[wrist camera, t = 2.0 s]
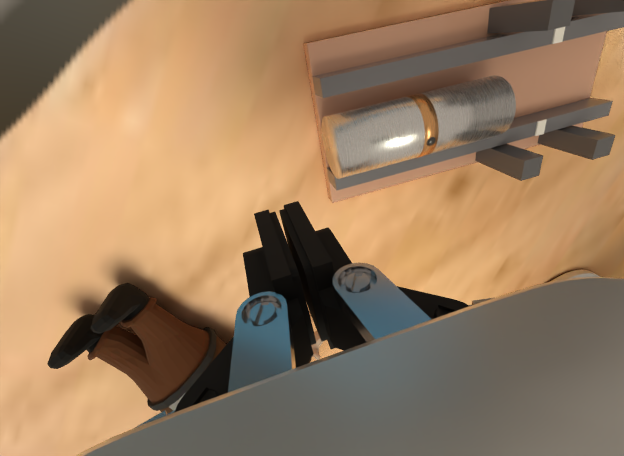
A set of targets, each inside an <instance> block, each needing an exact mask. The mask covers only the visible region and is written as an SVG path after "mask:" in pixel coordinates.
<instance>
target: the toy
mask: <svg viewBox="0 0 624 456" xmlns="http://www.w3.org/2000/svg"><path fill="white" fill-rule="evenodd" d="M156 302H157V298H153V297H150V298H148V296H147V294H146V293H144V292H143V291H141V290H140V289H138V288H137V287H135V286H133V285H131V284H129V283H124V284H121V285H119V286H117V287H116V288H114V289H113V290H112V291H111V292H110V293H109V294H108V296H107V297H106V299H105V300H104V302H103V304H102V305H101V307H100V308H99V310H98V312H97V313H96V315H91V314H87V315H85V316H82V317H80V318H79V319H77V320H76V321H75V322H74V323H73V324H72V325H71V326H70V328H69V329H68V330H67V331H66V333H65V334H64V335H63V337H62V338H61V340H60V341H59V342H58V344H57V345H56V347H55V348H54V350H53V351H52V353H51V356H50V358H49V361H48V365H49V367H50V368H54V369H58V368H61V367H63V366H65V365H67V364H68V363H70V362H71V361H72V360H74V359H75V358H76V357H78V356H79V355H80V354H81V353H83V352H84V351H85V350H87V351H88V352H89V354H88V359H89V360H92V359H94V358H95V357H98V358H100V359H102V360H103V361H105V362H107V363H108V364H110V365H112V366H113V367H115V368H117V369H119V370H120V371H122V372H124V373H125V374H127V375H128V376H129V377H130V378H131V379H132V380H133V381H134V382H135V383H136V384H137V385H138V387H139V388H140V389H141V390H142V392H143V393H144V394H145V395H146V396H147V398H148V401H147V402H148V406H149V407H150V408H152V409H153V410H156V411H158V410H160V411H161V412H163V411H166V412H167V413H168V414H169V413H170V412H172V411H174V410H175V409H176V407H177V404H178V403H179V402H180V400H181V399H182V397H183V396H184V394H185V393H186V392H187V391H188V390H189V389H190V387H191V386H192V385H193V384H194V383H195V381H196V380H197V379H198V378H199V377H200V376H201V374H202V373H203V372H204V371H205V370H206V368H207V367H208V366H209V365H210V364H211V363H212V361H213V360H214V359H215V358H216V357H217V355H218V354H219V353H220V352H221V351H222V350H223V348H224V347H225V346H226V345H227V344H225V343H224V342H223V341H222V340H221V339H220V338H219V337H218V336H217V335H216V333H215V331H214V330H213V329H211V328H207V327H206V328H204V329H203V330H202V329H199V328H196V327H193V326H190V325H188V324H186V323H184V322H182V321H180V320H179V319H177V318H176V317H174V316H173V315H171V314H170V313H169V312H167V311H166V310H164V309H163V308H161V307H160V306H158V305H157V304H156ZM119 322H120V325H121V326H123V327H125V328H129V327H131V328H132V329H133V331H134V332H135V333H136V334H137V335H135V334H133V333H131V332H128V331H126V330H124V329H122V328H120V327H117V324H118V323H119ZM314 335H315V339H316V344H313V345H311V346H312V349H313V353H314V354H313V356H312V357H315V359H317V360H319V359H320V355H319V347H320V346H321V344H322V343H323V341H321V339H320V337H319V334H318V331H316V332H314ZM310 361H311V359H310ZM310 361H309V362H308V363H310Z"/></svg>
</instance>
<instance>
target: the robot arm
mask: <svg viewBox="0 0 624 456" xmlns="http://www.w3.org/2000/svg"><path fill="white" fill-rule="evenodd" d="M279 211H280V215H281V219H282V223H283V227H284V231H285V235H286V238H287V241H286V238H285V236H284V233H283V231H282V228H281V226H280V223H279V220H278V218H277V215H276V213H275V212H272V213H269V210H265V211H262V212H258V213H255V214H254V215H255V219H256V223H257V227H258V231H259V234H260V238H261V242H262V246H263V247H261V248H258V249H255V250H251V251H248V252H245V253H243V257H244V264H245V270H246V276H247V282H248V289H249V295H250V297H249V298H248V299H246V300H245V301H244V302H243V303H242V304H241V305H240V307H239V308H238V310H237V314H236V320H235V330H234V337H233V338H232V339H231V340H230V341H229V342H228V344H227V345H226V346H225V347H224V348H223V350H222V351H221V352H220V353H219V354H218V355H217V357H216V358H215V359H214V360H213V361H212V363H211V364H210V365H209V366H208V367H207V368H206V370H205V371H204V372H203V373H202V374H201V376H200V377H199V378H198V379H197V380H196V381H195V383H194V384H193V385H192V386H191V387H190V389H189V390H188V391H187V392H186V393H185V394H184V396H183V397H182V399H181V400H180V402H179V403H178V404H177V407H176V409H175V410H174V411H172V412H170V413H169V414H168V413H167V412H166V411H163V412H161V413H160V414H158V415H156V416H154V417H153V418H151V419H149V420H147V421H146V422H144V423H142V424H140V425H139V426H137V427H135V428H133V429H131V430H129V431H126V432H124V433H122V434H119V435H117V436H114V437H112V438H110V439H108V440H106V441H104V442H102V443H100V444H98V445H96V446H94V447H91V448H89V449H87V450H85V451H84V452H82V453H80V454H78V455H77V456H624V279H622V278H611V277H600V276H598V275H597V274H595V273H594V272H592V271H589V270H575V271H571V272H568V273H565V274H563V275H561V276H559V277H557V278H555V279H554V280H552V281H550V282H548V283H543V284H539V285H534V286H531V287H528V288H525V289H521V290H518V291H515V292H511V293H508V294H505V295H502V296H499V297H496V298H489V299H482V300H475V301H472V305H469V306H468V305H467V304H465V303H463V302H460V301H457V300H454V299H450V298H445V297H441V296H437V295H432V294H428V293H424V292H419V291H415V290H411V289H406V288H402V287H398V286H396V285H395V284H393V283H392V282H391V281H390V280H389V279H388V278H387V277H386V276H385V275H384V274H383V273H382V272H381V271H380V270H379V269H377V268H376V267H374V266H372V265H370V264H367V263H352V262H351V261H350V259H349V258H348V256H347V255H346V253H345V252H344V250H343V249H342V247H341V245H340V244H339V242H338V241H337V239H336V238H335V236H334V235H333V233H332V232H331V230H330V229H329V228H325V229H321V230H318V231H315V230H314V228H313V227H312V225H311V223H310V221H309V219H308V218H307V216H306V214H305V212H304V211H303V209H302V207H301V205H300V203H299V202H298V201H297V202H293V203H290V204H286V205H284V209H283V210H279ZM287 242H288V244H287ZM306 302H307V303H306ZM307 305H308V307H309V310H310V313H311V315H312V318H313V321H314V323H315V326H316V329H317V331H318V334H319V337H320V339H321V341H325V340H327V341H328V343H329V346H330V348H331V349H333V348H338V349H341V350H344V351H342V352H339V353H336V354H333V355H330V356H328V357H325V358H322V359H319V360H317V361H314V362H311V363H308V362H309V361H310V359H311V357H312V356H313V354H314V353H313V349H312V346H311V345H313V344H316V339H315V335H314V331H313V327H312V323H311V319H310V315H309V311H308V307H307Z"/></svg>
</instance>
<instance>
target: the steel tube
mask: <svg viewBox="0 0 624 456" xmlns="http://www.w3.org/2000/svg"><path fill="white" fill-rule="evenodd" d="M515 112H516V99H515V94H514V91H513V89H512V87H511V85H510V84H509V82H508V81H507V80H506V79H504V78H503V77H501V76H497V75H493V76H488V77H484V78H480V79H476V80H472V81H468V82H464V83H460V84H456V85H451V86H447V87H443V88H439V89H435V90H431V91H427V92H423V93H418V94H413V95H409V96H405V97H402V98H398V99H394V100H390V101H386V102H382V103H378V104H374V105H370V106H366V107H362V108H357V109H353V110H349V111H345V112H341V113H337V114H333V115H329V116H325V117H323V119H322V124H321V131H322V140H323V146H324V150H325V154H326V158H327V161H328V164H329V166H330V169H331V171H332V173H333V174H334V176H335V177H336V178H337V179H340V178H344V177H348V176H351V175H355V174H359V173H362V172H366V171H370V170H373V169H377V168H381V167H384V166H388V165H392V164H395V163H399V162H403V161H406V160H410V159H414V158H418V157H422V156H426V155H429V154H432V153H436V152H439V151H443V150H447V149H450V148H454V147H458V146H461V145H465V144H469V143H472V142H476V141H480V140H483V139H487V138H491V137H494V136H498V135H501V134H503V133H504V132H506V131H507V130H508V128H509V127H510V126H511V124H512V122H513V120H514V116H515Z"/></svg>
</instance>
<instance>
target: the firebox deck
mask: <svg viewBox="0 0 624 456" xmlns="http://www.w3.org/2000/svg"><path fill="white" fill-rule="evenodd" d="M622 27H624V0H507V1H502V2H498V3H493V4H488V5H484V6H479V7H474V8H469V9H465V10H460V11H455V12H451V13H446V14H441V15H436V16H432V17H427V18H422V19H418V20H413V21H408V22H404V23H399V24H394V25H389V26H385V27H380V28H375V29H371V30H366V31H361V32H356V33H352V34H347V35H342V36H338V37H333V38H328V39H323V40H319V41H314V42H309V43H305V44H304V49H305V56H306V62H307V68H308V74H309V80H310V86H311V92H312V98H313V104H314V110H315V116H316V122H317V129H318V135H319V141H320V147H321V153H322V159H323V165H324V171H325V177H326V183H327V189H328V195H329V199H330V200H331V202H332V203H334V202H337V201H341V200H345V199H348V198H352V197H355V196H359V195H362V194H366V193H369V192H373V191H376V190H380V189H384V188H387V187H391V186H394V185H398V184H401V183H405V182H408V181H412V180H416V179H419V178H423V177H426V176H430V175H433V174H437V173H440V172H444V171H448V170H451V169H455V168H458V167H462V166H465V165H469V164H472V163H476V162H480V163H482V164H484V165H486V166H489V167H491V168H493V169H495V170H498V171H500V172H502V173H505V174H507V175H509V176H511V177H514V178H516V179H518V180H521V181H522V180H525V179H529V178H532V177H535V176H539V173H540V168H541V163H542V159H543V156H542V155H539V154H536V153H533V152H530V151H527V150H524V149H526V148H529V147H533V146H536V145H540V144H542V145H545V146H548V147H552V148H555V149H558V150H562V151H565V152H568V153H572V154H575V155H578V156H582V157H585V158H588V159H592V160H593V159H596V158H600V157H603V156H606V155H609V154H610V150H611V147H612V144H613V141H614V138H615V135H613V134H609V133H604V132H600V131H595V130H591V129H586V128H582V126H583V122H586V121H590V120H594V119H597V118H601V117H605V116H608V115H609V112H610V108H611V105H612V102H613V101H609V100H601V99H594V98H590V95H591V91H592V87H593V83H594V79H595V76H596V72H597V68H598V64H599V60H600V56H601V52H602V49H603V45H604V41H605V37H606V33H607V31H609V30H613V29H617V28H622ZM493 75H497V76H501V77H503V78H504V79H506V80H507V81H508V82H509V84H510V85H511V87H512V89H513V91H514V94H515V99H516V112H515V116H514V120H513V122H512V124H511V126H510V127H509V128H508V130H507V131H506V132H504V133H503V134H501V135H498V136H494V137H491V138H487V139H483V140H480V141H476V142H472V143H469V144H465V145H461V146H458V147H454V148H450V149H447V150H443V151H439V152H436V153H432V154H429V155H426V156H422V157H418V158H414V159H410V160H406V161H403V162H399V163H395V164H392V165H388V166H384V167H381V168H377V169H373V170H370V171H366V172H362V173H359V174H355V175H351V176H348V177H344V178H340V179H337V178H336V177H335V176H334V174H333V173H332V171H331V169H330V166H329V164H328V161H327V158H326V154H325V150H324V146H323V140H322V131H321V124H322V119H323V117H325V116H329V115H333V114H337V113H341V112H345V111H349V110H353V109H357V108H362V107H366V106H370V105H374V104H378V103H382V102H386V101H390V100H394V99H398V98H402V97H405V96H409V95H413V94H418V93H423V92H427V91H431V90H435V89H439V88H443V87H447V86H451V85H456V84H460V83H464V82H468V81H472V80H476V79H480V78H484V77H488V76H493Z"/></svg>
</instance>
